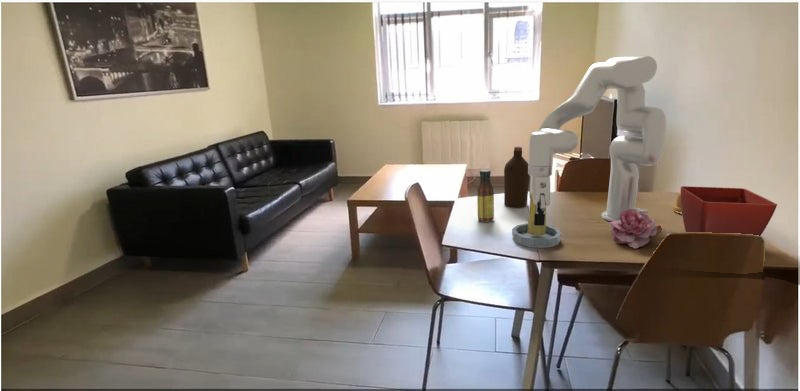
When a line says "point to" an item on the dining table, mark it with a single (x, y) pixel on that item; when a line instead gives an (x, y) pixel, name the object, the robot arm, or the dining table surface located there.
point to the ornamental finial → (678, 204)
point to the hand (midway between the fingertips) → (537, 221)
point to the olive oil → (516, 180)
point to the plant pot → (725, 210)
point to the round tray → (536, 237)
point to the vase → (531, 227)
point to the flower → (634, 228)
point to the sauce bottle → (485, 197)
